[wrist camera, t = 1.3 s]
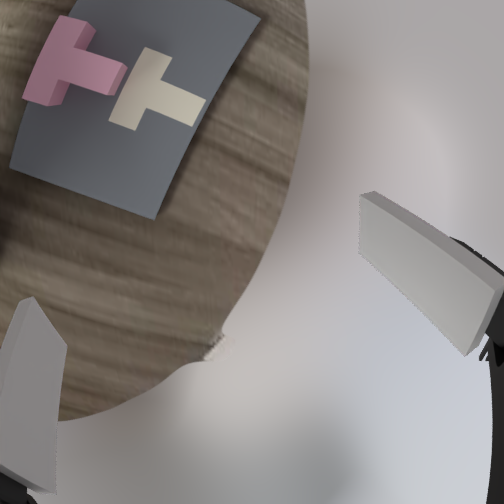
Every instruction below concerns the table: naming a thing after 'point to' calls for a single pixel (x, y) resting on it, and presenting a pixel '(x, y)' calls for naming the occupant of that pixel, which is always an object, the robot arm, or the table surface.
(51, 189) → the table surface
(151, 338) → the table surface
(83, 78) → the t block
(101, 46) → the board
